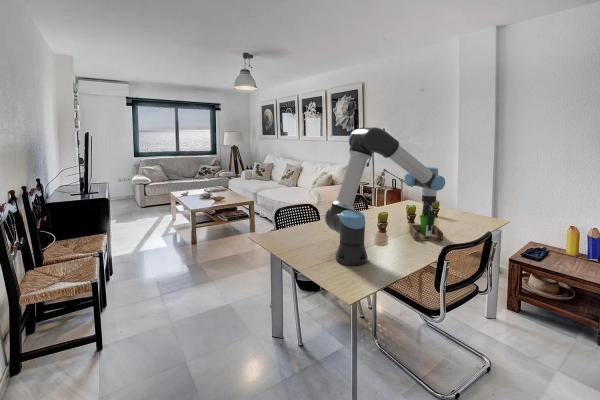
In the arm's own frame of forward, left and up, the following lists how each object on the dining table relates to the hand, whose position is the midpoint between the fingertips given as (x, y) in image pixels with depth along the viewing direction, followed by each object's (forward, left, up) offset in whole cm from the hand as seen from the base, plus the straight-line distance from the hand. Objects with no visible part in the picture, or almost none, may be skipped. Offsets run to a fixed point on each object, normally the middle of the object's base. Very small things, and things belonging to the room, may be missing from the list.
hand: (426, 233), depth 188 cm
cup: (0, 0, -1) cm, 1 cm away
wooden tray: (0, +3, -3) cm, 4 cm away
